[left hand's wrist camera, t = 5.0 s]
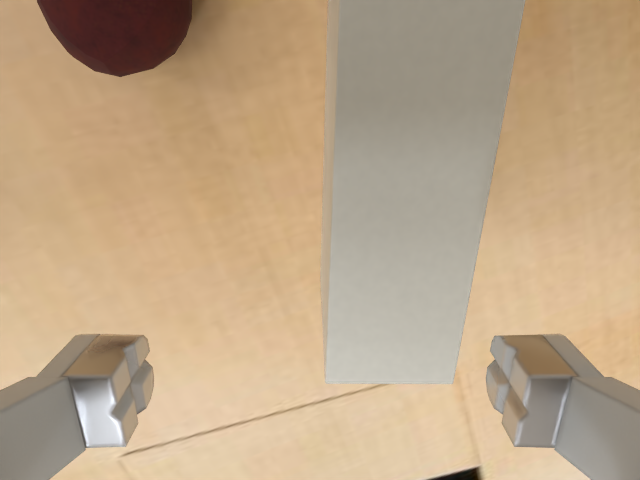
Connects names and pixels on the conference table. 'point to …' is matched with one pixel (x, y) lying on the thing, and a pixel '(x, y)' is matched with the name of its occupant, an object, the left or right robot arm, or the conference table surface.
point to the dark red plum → (119, 31)
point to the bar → (407, 179)
